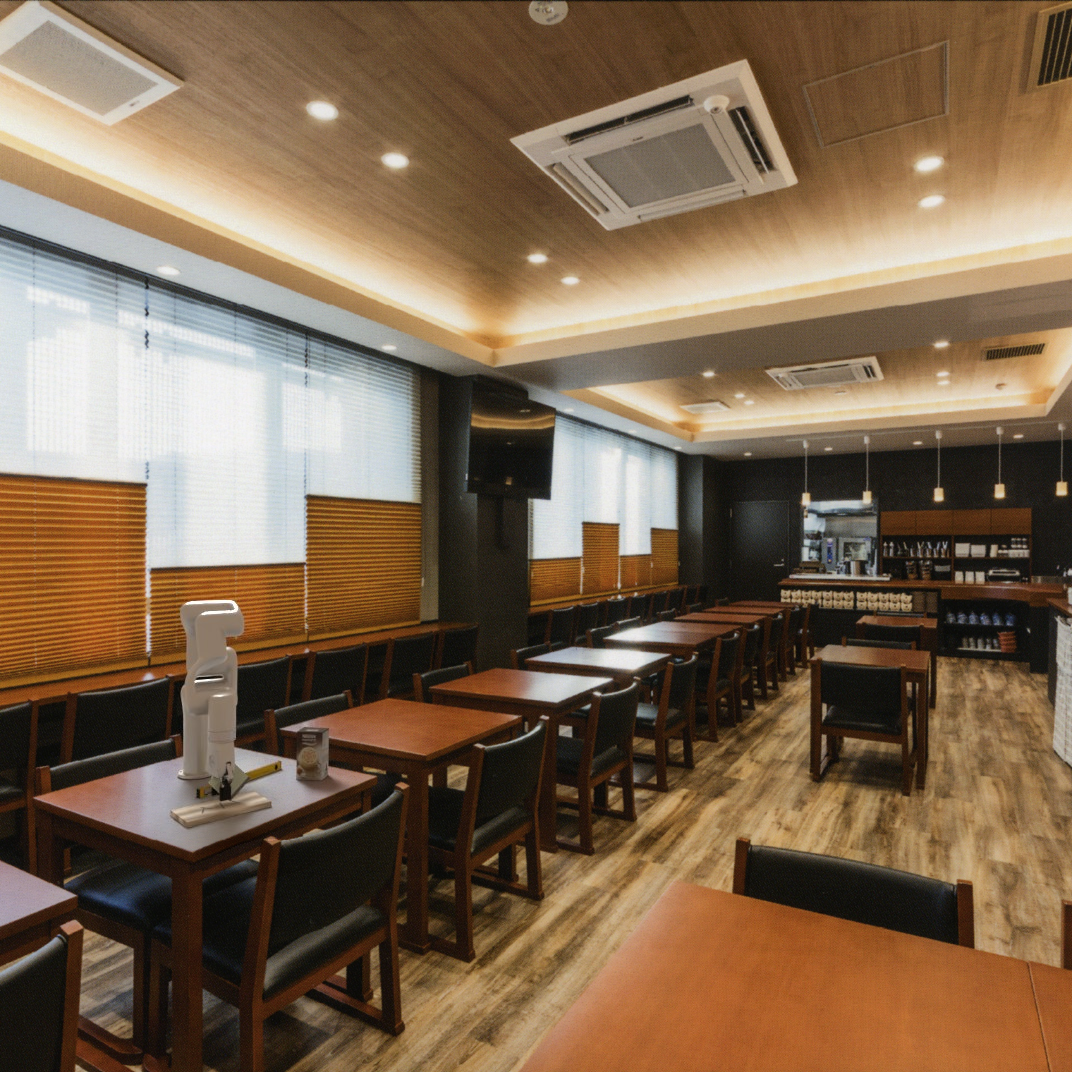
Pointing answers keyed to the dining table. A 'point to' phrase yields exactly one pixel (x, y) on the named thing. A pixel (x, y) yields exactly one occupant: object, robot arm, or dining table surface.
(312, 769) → the coffee box
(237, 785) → the sanding block
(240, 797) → the board
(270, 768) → the spirit level
